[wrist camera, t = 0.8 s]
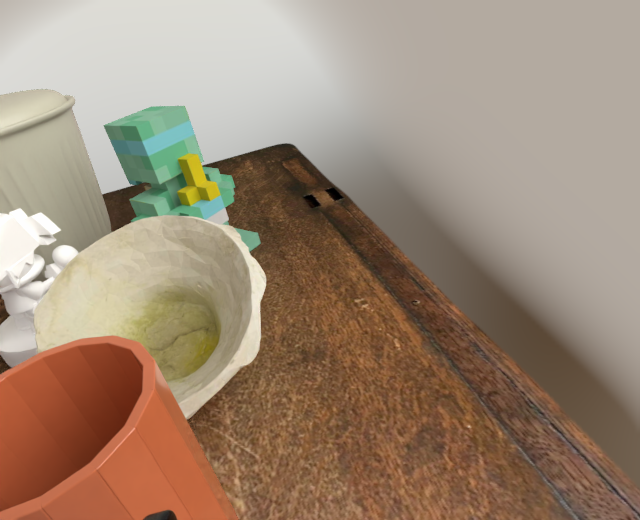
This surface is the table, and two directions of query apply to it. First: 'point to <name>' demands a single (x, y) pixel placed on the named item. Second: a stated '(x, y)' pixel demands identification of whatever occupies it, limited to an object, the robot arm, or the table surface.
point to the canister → (49, 170)
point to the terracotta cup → (99, 439)
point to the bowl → (164, 301)
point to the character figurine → (25, 278)
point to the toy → (171, 168)
